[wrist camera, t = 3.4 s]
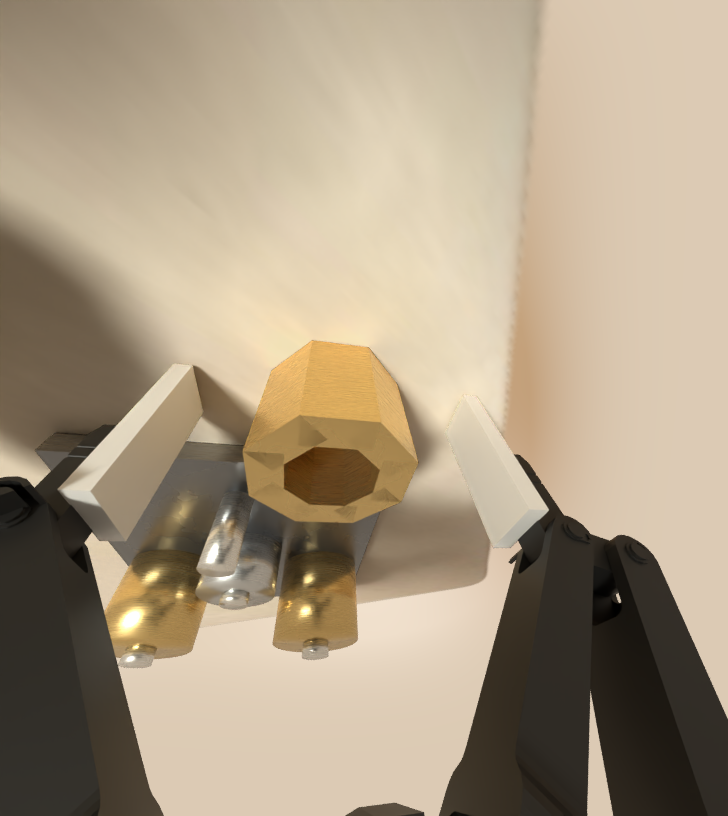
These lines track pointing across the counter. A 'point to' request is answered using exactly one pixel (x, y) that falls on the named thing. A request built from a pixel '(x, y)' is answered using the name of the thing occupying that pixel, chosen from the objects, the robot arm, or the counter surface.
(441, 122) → the counter surface
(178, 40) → the counter surface
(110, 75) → the counter surface
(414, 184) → the counter surface
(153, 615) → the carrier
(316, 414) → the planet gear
